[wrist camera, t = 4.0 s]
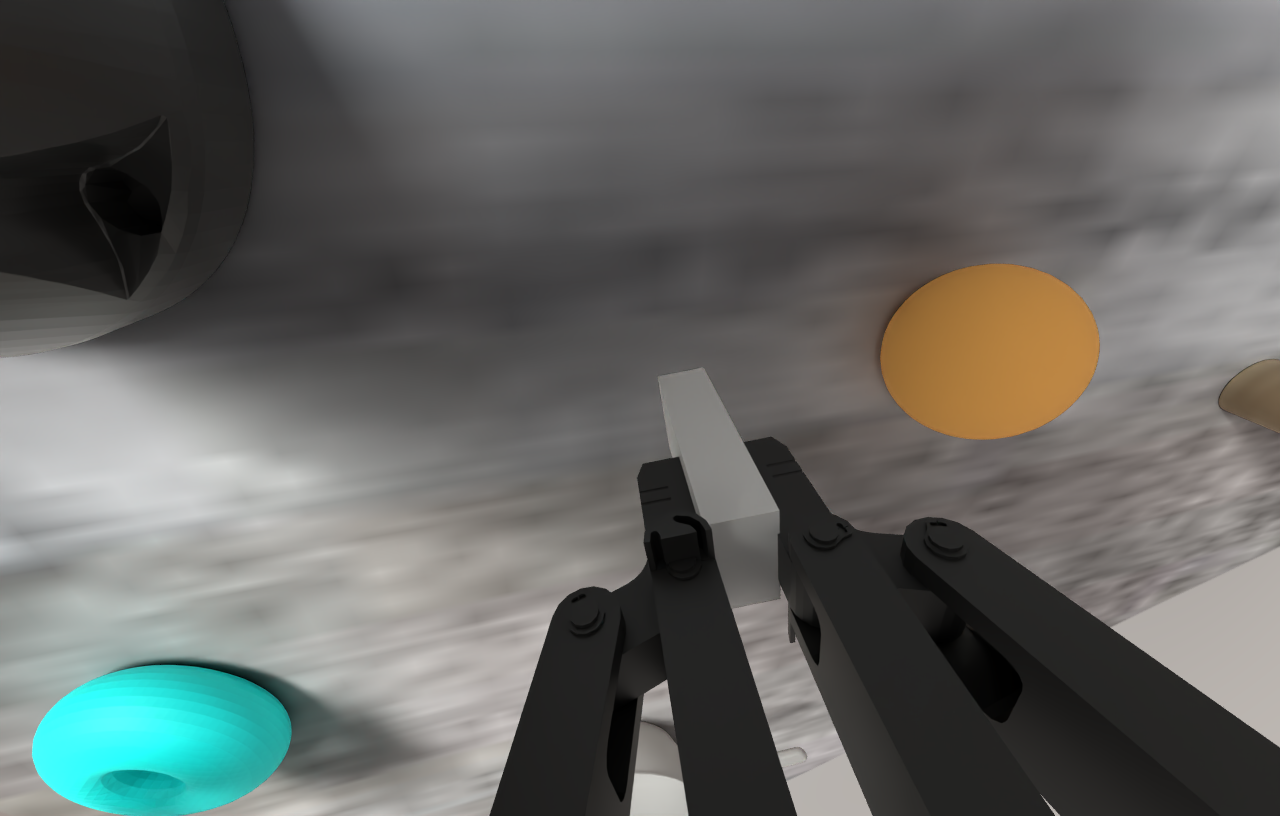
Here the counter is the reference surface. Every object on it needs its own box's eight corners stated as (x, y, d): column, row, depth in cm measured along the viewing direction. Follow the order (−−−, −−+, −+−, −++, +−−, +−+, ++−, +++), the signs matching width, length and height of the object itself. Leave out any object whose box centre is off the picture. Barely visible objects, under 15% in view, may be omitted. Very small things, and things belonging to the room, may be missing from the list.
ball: (856, 264, 15) (976, 318, 11) (1014, 232, 15) (1201, 273, 11) (845, 401, 18) (935, 491, 14) (978, 374, 18) (1115, 455, 14)
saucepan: (499, 744, 29) (488, 820, 26) (758, 649, 27) (783, 719, 24) (579, 798, 35) (579, 866, 32) (802, 723, 32) (826, 788, 29)
